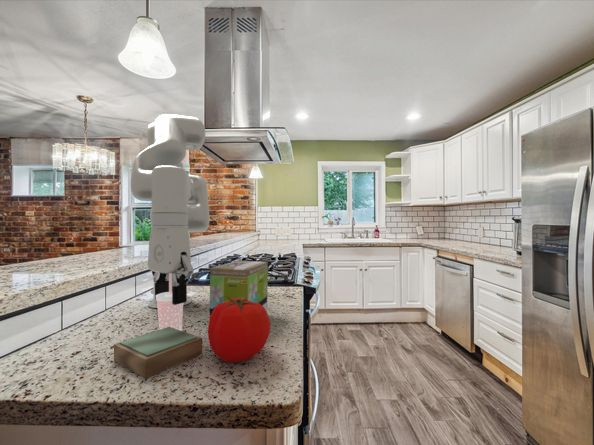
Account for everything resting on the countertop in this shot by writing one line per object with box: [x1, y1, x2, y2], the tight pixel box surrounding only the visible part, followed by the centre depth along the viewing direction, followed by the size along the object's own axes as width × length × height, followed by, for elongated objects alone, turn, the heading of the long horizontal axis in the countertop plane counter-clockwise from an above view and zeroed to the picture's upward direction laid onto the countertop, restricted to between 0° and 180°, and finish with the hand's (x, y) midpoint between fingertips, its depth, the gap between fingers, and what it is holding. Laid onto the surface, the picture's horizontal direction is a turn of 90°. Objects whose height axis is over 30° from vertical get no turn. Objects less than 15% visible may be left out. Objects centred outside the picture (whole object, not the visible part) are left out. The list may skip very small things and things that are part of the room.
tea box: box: [208, 260, 269, 319], centre depth 76 cm, size 15×10×15 cm, turn 168°
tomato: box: [207, 296, 271, 364], centre depth 55 cm, size 12×12×11 cm
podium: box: [113, 327, 203, 379], centre depth 56 cm, size 11×11×3 cm
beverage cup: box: [156, 274, 184, 331], centre depth 68 cm, size 6×6×14 cm
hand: (170, 300), depth 68 cm, fingers closed on beverage cup, 6 cm apart
